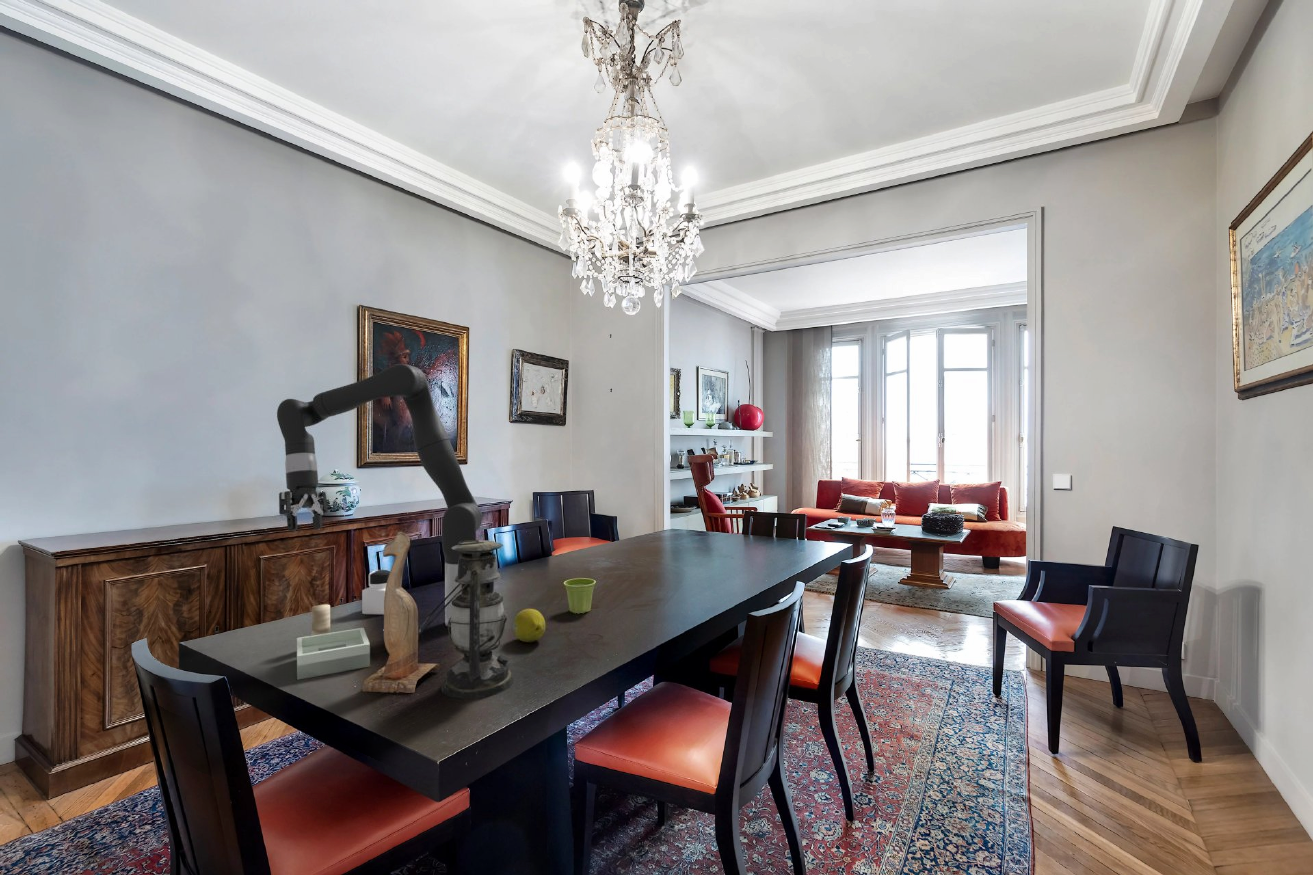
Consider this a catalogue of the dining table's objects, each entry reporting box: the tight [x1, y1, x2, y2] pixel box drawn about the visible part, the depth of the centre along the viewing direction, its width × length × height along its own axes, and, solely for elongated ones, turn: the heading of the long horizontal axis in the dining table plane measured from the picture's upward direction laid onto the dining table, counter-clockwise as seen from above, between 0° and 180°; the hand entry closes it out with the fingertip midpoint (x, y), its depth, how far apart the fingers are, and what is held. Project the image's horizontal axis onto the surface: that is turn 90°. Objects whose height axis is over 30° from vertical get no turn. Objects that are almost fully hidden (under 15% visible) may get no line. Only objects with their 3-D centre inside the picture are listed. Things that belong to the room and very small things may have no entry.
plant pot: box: [563, 577, 596, 614], centre depth 176 cm, size 9×9×9 cm
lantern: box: [418, 539, 515, 700], centre depth 123 cm, size 19×19×30 cm
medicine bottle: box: [361, 569, 391, 615], centre depth 177 cm, size 7×7×12 cm
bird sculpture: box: [362, 531, 440, 694], centre depth 125 cm, size 11×12×32 cm
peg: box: [311, 604, 331, 636], centre depth 146 cm, size 4×4×10 cm
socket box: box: [296, 627, 371, 680], centre depth 135 cm, size 14×14×5 cm
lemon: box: [512, 608, 546, 643], centre depth 149 cm, size 11×8×8 cm
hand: (305, 529), depth 160 cm, fingers open, 8 cm apart
